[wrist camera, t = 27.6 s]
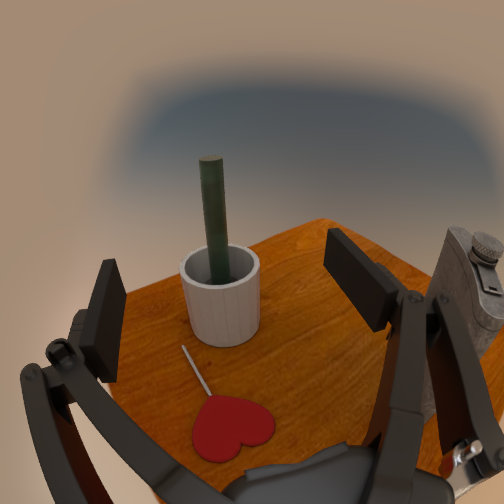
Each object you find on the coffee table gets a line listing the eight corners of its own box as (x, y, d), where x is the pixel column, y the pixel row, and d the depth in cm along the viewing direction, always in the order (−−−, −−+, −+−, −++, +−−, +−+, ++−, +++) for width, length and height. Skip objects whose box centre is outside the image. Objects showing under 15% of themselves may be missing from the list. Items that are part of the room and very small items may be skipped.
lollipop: (152, 360, 30) (207, 470, 19) (150, 355, 30) (205, 468, 19) (213, 336, 34) (284, 432, 23) (213, 331, 33) (284, 429, 22)
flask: (429, 334, 32) (479, 210, 22) (432, 429, 20) (535, 296, 11) (406, 330, 33) (450, 202, 23) (402, 426, 21) (498, 288, 12)
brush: (200, 326, 34) (175, 164, 24) (215, 302, 38) (199, 152, 28) (237, 335, 33) (225, 165, 23) (249, 309, 37) (243, 153, 27)
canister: (180, 337, 34) (164, 279, 29) (207, 294, 41) (200, 239, 36) (248, 354, 31) (245, 295, 27) (267, 305, 39) (268, 248, 34)
